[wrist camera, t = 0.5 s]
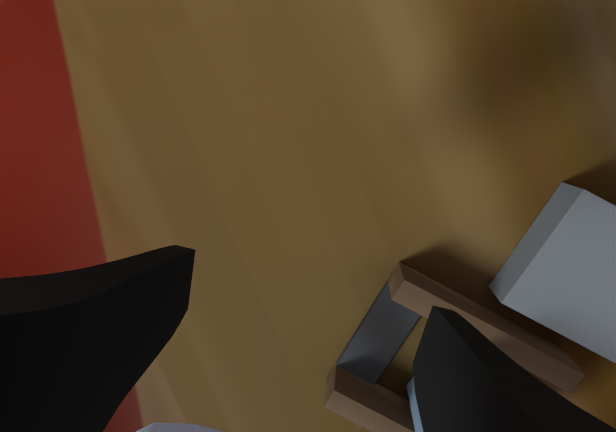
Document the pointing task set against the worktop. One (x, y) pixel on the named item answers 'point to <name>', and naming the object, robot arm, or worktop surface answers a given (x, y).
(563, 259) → the stand
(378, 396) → the channel
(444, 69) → the worktop surface
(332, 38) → the worktop surface
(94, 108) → the worktop surface
